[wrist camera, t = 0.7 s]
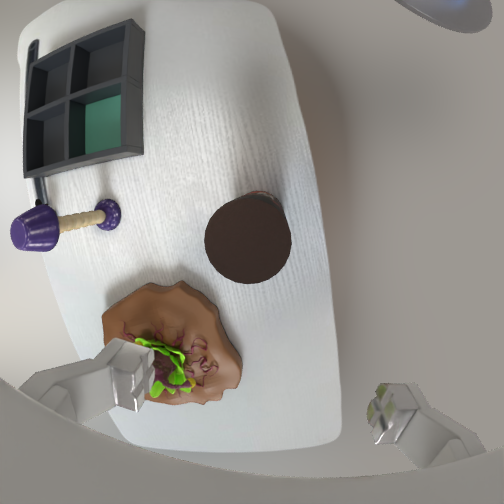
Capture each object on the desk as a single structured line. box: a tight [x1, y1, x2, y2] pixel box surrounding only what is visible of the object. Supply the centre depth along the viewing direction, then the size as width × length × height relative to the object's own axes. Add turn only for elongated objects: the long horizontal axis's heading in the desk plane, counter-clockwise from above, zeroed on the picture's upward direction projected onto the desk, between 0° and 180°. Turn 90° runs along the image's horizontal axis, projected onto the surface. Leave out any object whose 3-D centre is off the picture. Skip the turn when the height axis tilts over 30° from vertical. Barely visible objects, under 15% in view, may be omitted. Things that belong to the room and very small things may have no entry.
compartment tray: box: [23, 19, 145, 178], centre depth 30 cm, size 18×18×5 cm
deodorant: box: [204, 191, 292, 284], centre depth 27 cm, size 6×6×15 cm
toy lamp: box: [10, 199, 121, 252], centre depth 27 cm, size 5×5×17 cm
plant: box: [102, 281, 242, 405], centre depth 34 cm, size 20×20×11 cm
